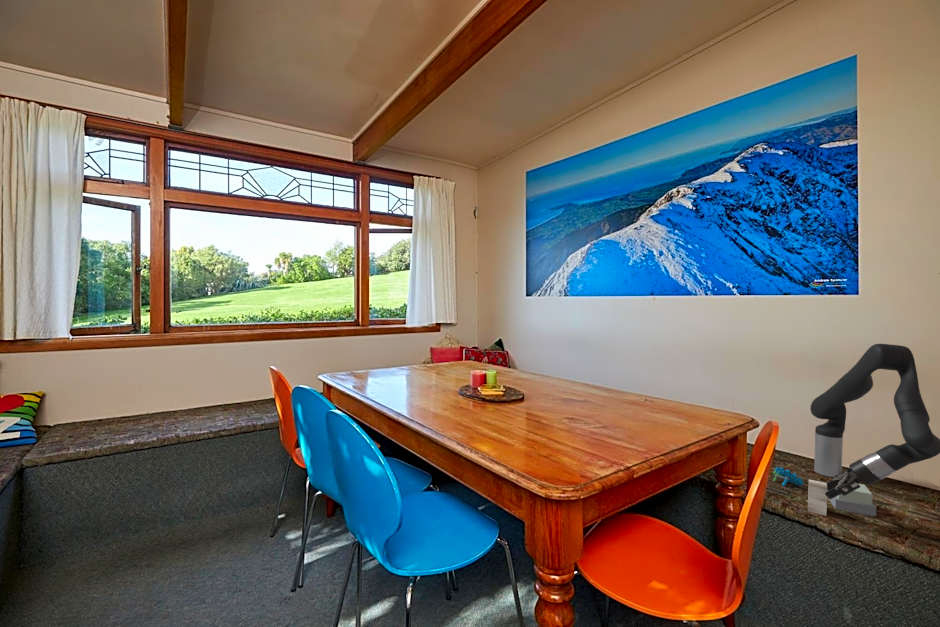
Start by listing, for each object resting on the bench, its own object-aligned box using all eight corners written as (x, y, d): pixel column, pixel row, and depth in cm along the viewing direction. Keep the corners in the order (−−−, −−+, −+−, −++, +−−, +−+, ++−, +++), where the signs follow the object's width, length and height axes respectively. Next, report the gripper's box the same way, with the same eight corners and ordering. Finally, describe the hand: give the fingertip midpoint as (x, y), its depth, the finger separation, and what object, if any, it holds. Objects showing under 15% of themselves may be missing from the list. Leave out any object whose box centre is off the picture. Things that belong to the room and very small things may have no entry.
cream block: (807, 506, 154) (808, 479, 154) (825, 510, 151) (826, 483, 150) (808, 511, 150) (808, 483, 150) (826, 515, 147) (827, 487, 147)
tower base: (827, 498, 162) (827, 487, 161) (865, 505, 156) (865, 494, 156) (835, 510, 152) (835, 499, 152) (876, 518, 147) (876, 507, 147)
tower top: (832, 489, 160) (832, 479, 160) (863, 495, 155) (864, 484, 155) (838, 499, 152) (839, 488, 152) (871, 505, 148) (872, 494, 148)
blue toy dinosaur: (810, 485, 168) (794, 469, 167) (803, 497, 166) (787, 480, 165) (783, 478, 178) (768, 462, 177) (776, 489, 177) (761, 473, 176)
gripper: (859, 453, 148) (816, 476, 156) (864, 464, 137) (817, 489, 145) (879, 471, 145) (834, 494, 153) (886, 485, 134) (837, 509, 141)
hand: (826, 492), depth 149 cm, fingers open, 8 cm apart
